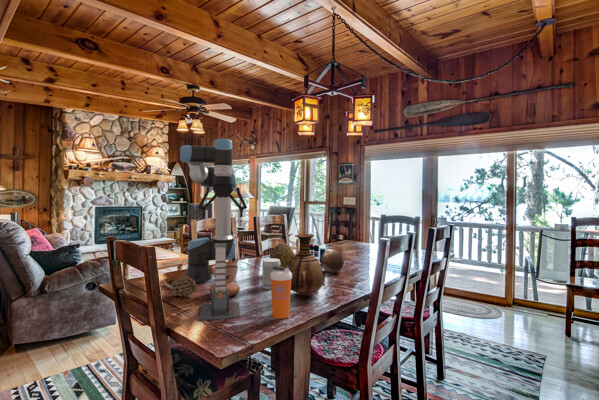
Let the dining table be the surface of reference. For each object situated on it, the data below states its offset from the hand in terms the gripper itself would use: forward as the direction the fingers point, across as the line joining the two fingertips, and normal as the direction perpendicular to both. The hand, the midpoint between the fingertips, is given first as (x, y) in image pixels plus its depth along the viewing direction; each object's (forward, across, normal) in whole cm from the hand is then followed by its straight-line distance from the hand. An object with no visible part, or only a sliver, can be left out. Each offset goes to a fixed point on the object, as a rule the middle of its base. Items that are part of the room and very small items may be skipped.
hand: (222, 225), depth 140 cm
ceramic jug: (+37, +1, +20) cm, 42 cm away
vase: (+36, +39, +10) cm, 54 cm away
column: (+28, -1, -3) cm, 28 cm away
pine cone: (+37, -21, +23) cm, 48 cm away
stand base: (+36, -1, -3) cm, 36 cm away
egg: (+37, +35, +51) cm, 72 cm away
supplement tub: (+37, +25, +28) cm, 52 cm away
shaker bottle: (+36, +23, -13) cm, 45 cm away
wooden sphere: (+37, +68, +53) cm, 94 cm away
